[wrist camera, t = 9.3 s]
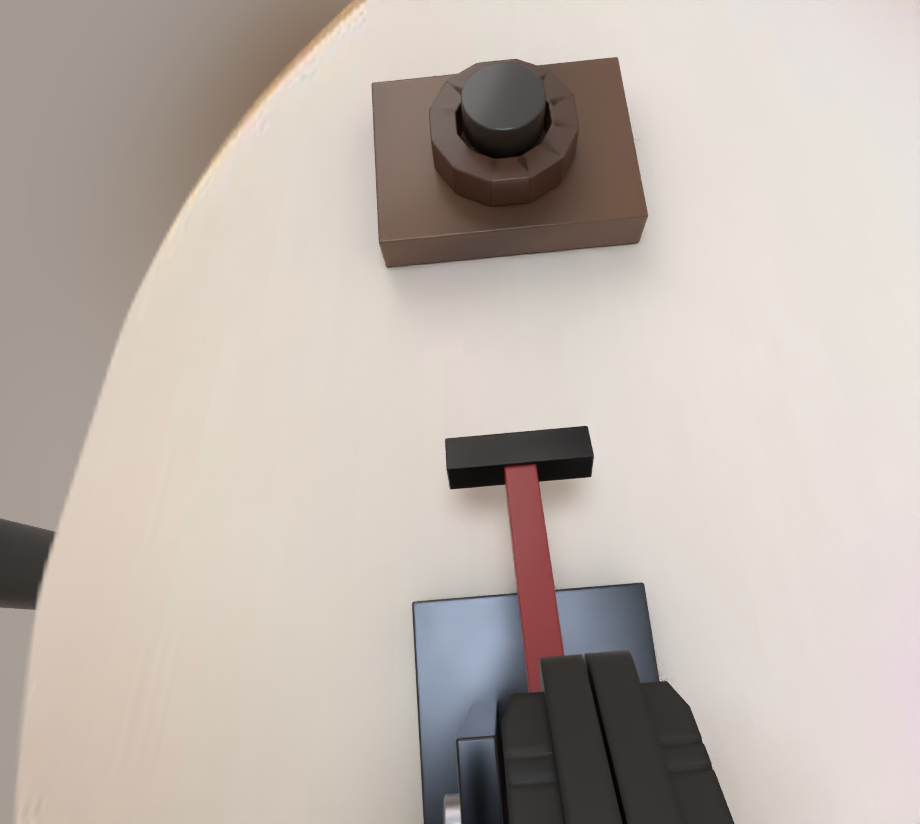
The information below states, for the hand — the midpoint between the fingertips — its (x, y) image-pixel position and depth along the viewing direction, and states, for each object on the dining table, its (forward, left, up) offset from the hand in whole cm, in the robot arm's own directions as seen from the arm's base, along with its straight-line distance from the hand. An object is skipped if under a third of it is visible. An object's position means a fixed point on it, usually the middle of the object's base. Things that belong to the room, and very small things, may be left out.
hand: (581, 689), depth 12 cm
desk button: (+1, +23, -13) cm, 26 cm away
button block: (+1, +23, -16) cm, 28 cm away
